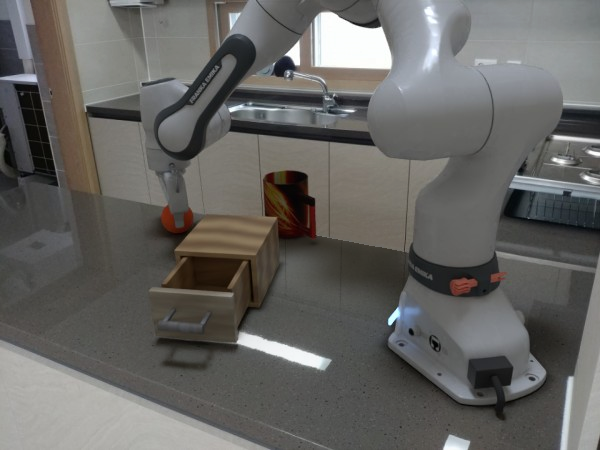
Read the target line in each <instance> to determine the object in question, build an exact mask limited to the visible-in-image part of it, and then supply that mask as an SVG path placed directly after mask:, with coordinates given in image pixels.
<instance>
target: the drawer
mask: <svg viewBox="0 0 600 450" xmlns="http://www.w3.org/2000/svg"><path fill="white" fill-rule="evenodd" d="M148 296H149V302H150V308H151V314H152V321H153V326H154V333H155V337H162V338H171V339H172V338H174V339H183V340H195V341H206V342H219V343H228V344H229V343H231V344H237V342H238V340H239V331H238V328H239V326H240V323H241V321H242V319H243V317H244V315H245V314H246V311H247V309H248V308H249V307H248V305H249V303H250V301H251V299H252V297H253V282H252V268H251V260H247V259H230V258H213V257H197V256H184V257H183V258H182V260H181V261H180V262H179V263H178V264H177V266H176V265H175V267H174V268H173V269H172V270H171V271H170V272H169V274H168V275H167V276H166V277H165V278H164V280H163V281H162V282H161V287H160V286H159V287H157V286H151V287H150V289H149V290H148Z"/></svg>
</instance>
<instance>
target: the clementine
mask: <svg viewBox="0 0 600 450" xmlns="http://www.w3.org/2000/svg"><path fill="white" fill-rule="evenodd" d="M160 220H161V224H162V226H163V228H164V229H166V230H167V231H168V232H169V233H173V234H182V233H185V232H186V231H188V230H189V229H190V228H191V227H192V225H193V223H194V213H193V210H192V209H191V207H190V206H189V210H188V212H187V213H184V219H183V220H184V226H183V227H181V228H176V227H175V222H174V215H173V214H171V212H170V209H169V206H168V204H166V206H164V207H163V210H162V212H161V215H160Z"/></svg>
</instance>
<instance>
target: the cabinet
mask: <svg viewBox="0 0 600 450" xmlns="http://www.w3.org/2000/svg"><path fill="white" fill-rule="evenodd" d="M277 221H278V220H277V217H265V216H264V215H263V216H262V215H261V216H259V215H238V214H216V213H215V214H214V213H206V214H205V215H204V216H203V218H201V219H200V221H199V222H197V224H196V225H195V226H194V227H193V228H192V230H191V231H190V232H189V233H188V234H187V236H185V238H184V239H183V240H182V241H181V242H180V243H179V244H178V246H176V248H175V249H174V250H173V252H174V258H175V267H176V266H177V264H178V263H179V262H180V261H181V260H182V258H183V257H184V256H197V257H213V258H230V259H247V260H251V268H252V282H253V297H252V299H251V301H250V303H249V305H248V307H247V308H259V309H260V307H261V305H262V304H263V301H264V299H265V297H266V295H267V293H268V290H269V288H270V286H271V283H272V281H273V279H274V277H275V275H276V274H277V271H278V268H279V266H280V264H281V263H280V262H281V261H280V243H279V242H280V241H279V238H278V222H277Z"/></svg>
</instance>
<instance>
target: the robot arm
mask: <svg viewBox="0 0 600 450" xmlns="http://www.w3.org/2000/svg"><path fill="white" fill-rule="evenodd" d="M326 11H329V12H331V13H333V14H334V15H337V17H338V18H340V19H342V20H343V21H346V22H348V23H349V24H351V25H354V26H356V27H360V28H363V29H370V30H371V29H372V30H373V29H380V28H381V29H382V32H383V34H384V37H385V40H386V42H387V46H388V49H389V52H390V58H391V60H390V61H391V65H390V69H389V72H388V74H387V76H386V77H385V78H384V79H383V80H382V81H381V82H380V83H379V84H378V85H377V87H376V88H375V89H374V91H373V93H372V94H371V97H370V100H369V102H368V105H367V106H368V107H367V111H366V112H367V113H366V124H367V128H368V133H369V135H370V138H371V140H372V142H373V144H374V145H375V146H376V148H377V149H378V151H380V153H382V154H383V155H384V156H385V157H387V158H390V159H397V160H406V161H420V162H425V161H433V160H434V161H435V160H441V159H447V158H448V160H447V161H446V164H445V165H444V166H443V168H442V169H441V170H440V172H439V173H437V175H435V176H434V177H432V179H430V180H429V181H427V182H426V183H425V184H424V185H423V186H422V188H421V189H420V190H419V192H418V194H417V195H416V198H415V203H414V216H413V232H412V233H413V234H412V242H411V243H410V245H409V249H408V253H407V271H408V273H409V275H408V277H407V280H406V283H405V284H404V287H403V288H402V290H401V292H400V296H399V302H398V306H397V308H396V310H394V312H393V313H392V314H391V315H390V317H388V326H391V325H392V324H393V322H394V321H395V327H394V331H392V333H391V334H390V335H389V337H388V340H387V347H388V349H390V350H391V351H393V352H394V354H396V355H397V356H399V357H400V358H401V359H402V360H404V361H405V362H406V363H408V364H409V365H410V366H411V367H412V368H414V369H415V370H416V371H417V372H419V373H420V374H422V375H423V376H424V377H425V378H426V379H428V380H429V381H430V382H431V383H433V384H434V385H435V386H436V387H438V388H439V389H440V390H442V391H443V392H444V393H445V394H447V395H448V396H449V397H450V398H452V399H453V400H454V401H456V402H457V403H459V404H463V405H469V406H490V405H495V406H494V411H495V412H496V413H498V414H500V413H503V412H504V409H505V406H506V402H508V401H509V402H510V401H513V400H516V399H519V398H522V397H524V396H527V395H530V394H532V393H533V392H535V391H537V390H538V389H540V388H541V387H542V386H543V384H544V383H545V381H546V379H547V371H546V369H545V368H544V367H543V365H542V364H541V363H540V362H539V361H538V360H537V359H536V357H534V355H533V354H532V353H531V351H530V349H531V343H530V342H531V341H530V335H529V331H528V329H527V328H526V326H525V323H526V320H525V318H526V317H525V315H524V313H523V312H522V311H521V310H519V309H515V308H514V306H513V304H512V303H511V301H510V300H509V298H508V296H507V294H506V293H505V291H504V289H503V287H502V286H501V281H503V280H506V279H507V278H506V277H504V276H505V275H507V271H501V272H500V266H499V260H498V255H497V252H496V250H495V249H496V243H497V235H498V230H499V222H500V219H501V213H502V209H503V205H504V202H505V198H506V195H507V193H508V191H509V189H510V186H511V184H512V182H513V180H514V179H515V177H516V175H517V173H518V171H519V170H520V168H521V166H522V165H523V164H524V162H525V160H526V159H527V158H528V156H530V154H531V153H532V152H533V150H534V149H535V148H536V147H537V146H538V145H539V144H541V142H542V141H544V140H545V139H546V138H548V136H550V135H551V134H552V133H553V132H554V131H555V130H556V129H557V127H558V125H559V123H560V120H561V118H562V114H563V109H564V95H563V91H562V87H561V85H560V83H559V81H558V79H557V77H556V76H555V75H554V74H553V73H552V72H551V71H549V70H548V69H546V68H543V67H539V66H533V65H529V64H522V63H516V62H505V63H493V64H482V65H481V64H479V65H463V64H461V63H460V62H459V61H458V60H457V59H456V56H457V55H458V54H459V53H460V52H461V51H462V49H463V48H464V47H465V45H466V44H467V42H468V40H469V37H470V34H471V30H472V14H471V12H470V10H469V8H468V6H467V4H466V2H465V0H248V1H247V2H246V4H245V5H244V7H243V9H242V10H241V12H240V13H239V15H238V17H237V19H236V20H235V21H234V24H233V26H232V27H231V29H230V30H229V31H228V32H227V35H226V36H225V38H224V39H223V41H222V42H221V44H220V46H219V47H218V49H217V50H216V52H215V53H214V54H213V55H212V57H211V58H210V59H209V61H208V62H207V63H206V65H204V67H203V68H202V70H201V71H200V72H199V74H198V75H197V77H196V78H195V80H194V81H193V82H192V83H191V84H190V86H189V87H188V86H187V85H185V84H184V83H183V82H182V81H181V80H180V79H179V78H176V77H164V78H159V79H156V80H152V81H148V82H146V83H145V84H143V85H142V86H141V88H140V92H139V113H140V120H141V126H142V128H143V131H144V133H145V140H144V147H145V155H146V161H147V169H148V170H150V171H152V172H154V173H155V176H156V177H157V179H158V182H159V185H160V187H161V190H162V193H163V195H164V198H165V201H166V203H167V205H168V206H169V209H170V212H171V214H173V215H174V222H175V227H176V228H181V227H183V226H184V220H183V219H184V213H187V212H188V210H189V207H190V206H189V199H188V192H187V184H186V179H185V177H184V175H185V174H186V172H187V169H186V168H188V167H190V166H191V164H192V162H191V161H192V160H193V159H194V158H196V157H198V155H199V154H201V153H202V152H203V151H204V150H206V149H207V148H209V147H210V146H213V145H214V144H216V143H217V142H218V141H220V140H222V139H223V138H224V137H225V136H226V135H228V133H229V132H230V130H231V126H232V115H231V112H230V109H229V107H228V105H227V104H226V101H227V100H228V99H229V98H230V96H231V95H232V94H233V93H234V92H235V90H236V89H237V88H238V87H239V86H240V85H241V84H242V83H243V82H245V81H247V80H248V79H249V78H250V77H252V76H253V75H255V74H257V73H259V72H261V71H262V70H264V69H266V68H268V67H270V66H272V65H274V64H275V63H278V61H280V60H281V59H282V58H283V57H285V55H287V54H288V53H289V52H290V51H291V50H292V49H293V48H294V47H295V46H296V44H298V43H299V41H300V40H301V38H302V37H303V36H304V34H305V33H306V32H307V30H309V27H310V26H311V24H312V23H313V22H314V20H315V19H316V17H318V16H319V15H320V14H321V13H322V12H326Z"/></svg>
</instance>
